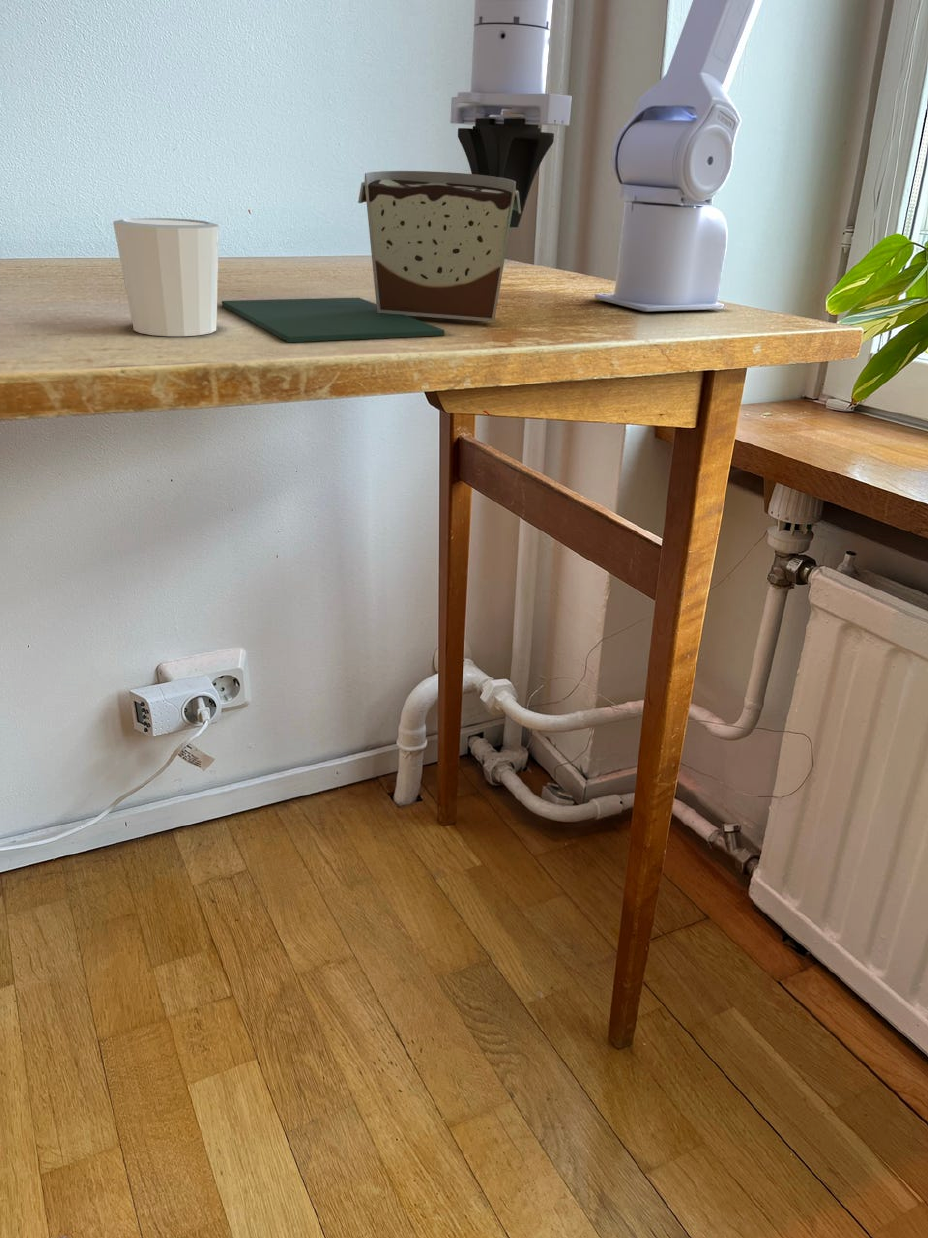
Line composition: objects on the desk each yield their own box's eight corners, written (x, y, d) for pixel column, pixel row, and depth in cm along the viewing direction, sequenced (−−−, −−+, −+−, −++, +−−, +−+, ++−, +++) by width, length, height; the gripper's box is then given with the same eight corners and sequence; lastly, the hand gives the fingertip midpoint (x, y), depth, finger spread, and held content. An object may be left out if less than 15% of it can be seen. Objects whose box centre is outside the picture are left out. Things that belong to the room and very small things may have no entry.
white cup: (133, 339, 62) (122, 225, 59) (115, 322, 68) (104, 216, 65) (236, 335, 65) (231, 226, 62) (212, 319, 71) (205, 217, 68)
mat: (358, 302, 82) (358, 297, 82) (444, 335, 70) (444, 329, 69) (221, 305, 77) (221, 300, 76) (288, 342, 64) (288, 336, 64)
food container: (519, 307, 79) (529, 176, 74) (513, 323, 74) (523, 182, 69) (375, 296, 80) (375, 167, 75) (358, 311, 75) (357, 172, 70)
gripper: (420, 29, 74) (414, 217, 80) (518, 14, 63) (503, 233, 69) (497, 39, 78) (486, 218, 84) (603, 26, 66) (581, 234, 72)
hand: (499, 225), depth 77 cm, fingers closed
